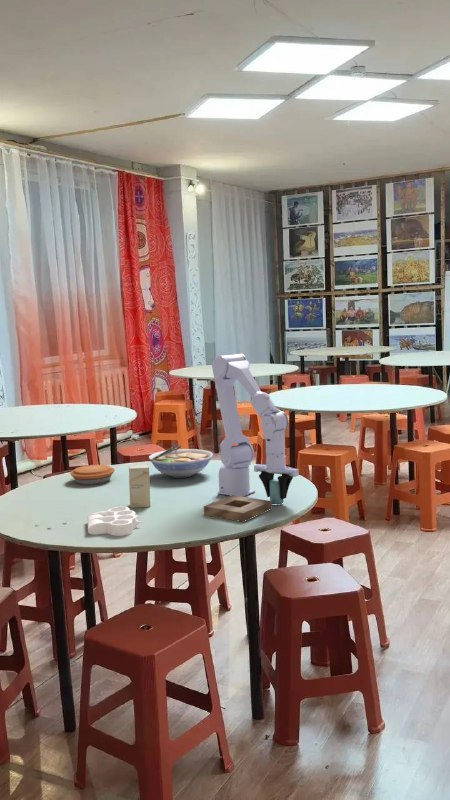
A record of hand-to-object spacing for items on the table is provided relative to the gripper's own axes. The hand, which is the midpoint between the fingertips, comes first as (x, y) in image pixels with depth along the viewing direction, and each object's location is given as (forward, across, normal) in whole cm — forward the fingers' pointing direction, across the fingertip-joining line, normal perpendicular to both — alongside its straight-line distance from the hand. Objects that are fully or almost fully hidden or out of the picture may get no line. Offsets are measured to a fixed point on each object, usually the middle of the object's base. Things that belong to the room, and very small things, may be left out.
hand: (276, 497), depth 215 cm
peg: (+2, 0, 0) cm, 2 cm away
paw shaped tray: (+3, -27, -41) cm, 49 cm away
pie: (+2, -72, -7) cm, 72 cm away
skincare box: (+2, -35, -22) cm, 41 cm away
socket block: (+2, -5, -13) cm, 14 cm away
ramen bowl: (+2, -49, +14) cm, 51 cm away
